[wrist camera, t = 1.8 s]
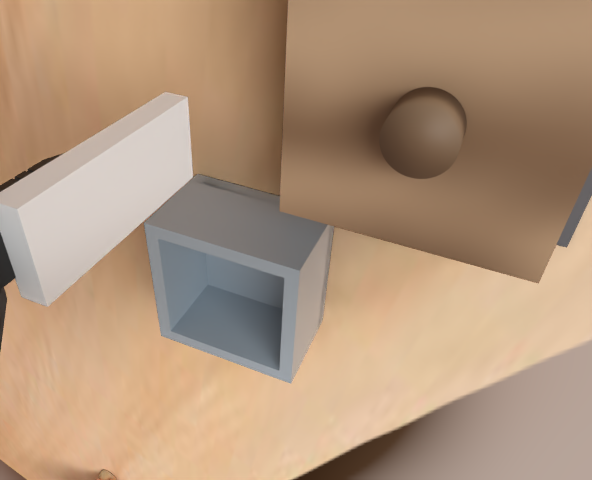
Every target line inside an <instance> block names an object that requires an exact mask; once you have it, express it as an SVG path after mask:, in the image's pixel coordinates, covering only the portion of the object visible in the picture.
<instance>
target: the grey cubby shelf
mask: <svg viewBox="0 0 592 480" xmlns="http://www.w3.org/2000/svg"><path fill="white" fill-rule="evenodd" d="M279 206H280V196H277V195H274V194H270V193H266V192H263V191H259V190H255V189H252V188H248V187H244V186H240V185H237V184H233V183H229V182H226V181H222V180H218V179H215V178H211V177H207V176H203V175H200V174H197V175H196V176H194V177H193V178H192V179H191V180H190V181H189V182H188V183H187V184H186V185H185V186H184V187H182V188H181V189H180V190H179V191H178V192H177V193H176V194H175V195H174V196H173V197H172V198H170V199H169V200H168V201H167V202H166V203H165V204H164V205H163V206H162V207H161V208H159V209H158V210H157V211H156V212H155V213H154V214H153V215H152V216H151V217H150V218H149V219H147V220H146V221H145V222H144V228H145V234H146V240H147V247H148V253H149V260H150V266H151V273H152V279H153V286H154V292H155V299H156V305H157V312H158V318H159V325H160V331H161V336H163V337H166V338H169V339H171V340H174V341H177V342H180V343H182V344H185V345H188V346H190V347H193V348H196V349H199V350H201V351H204V352H207V353H209V354H212V355H215V356H217V357H220V358H223V359H226V360H228V361H231V362H234V363H236V364H239V365H242V366H245V367H247V368H250V369H253V370H255V371H258V372H261V373H264V374H266V375H269V376H272V377H274V378H277V379H280V380H282V381H285V382H288V383H292V381H293V379H294V377H295V375H296V373H297V371H298V369H299V367H300V365H301V363H302V361H303V359H304V357H305V355H306V353H307V351H308V349H309V347H310V345H311V343H312V341H313V339H314V337H315V335H316V333H317V331H318V329H319V327H320V325H321V323H322V320H323V313H324V305H325V297H326V289H327V280H328V272H329V264H330V256H331V248H332V240H333V232H334V226H331V225H327V224H323V223H320V222H316V221H313V220H309V219H306V218H302V217H298V216H295V215H291V214H288V213H284V212H280V211H279Z"/></svg>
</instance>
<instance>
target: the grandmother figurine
mask: <svg viewBox="0 0 592 480" xmlns="http://www.w3.org/2000/svg"><path fill="white" fill-rule="evenodd" d="M96 480H117V479H116V477H115V476H114V475H112V474H111V473H110V472H108V471H107V470H102V471H101V473H100V474H99V479H96Z"/></svg>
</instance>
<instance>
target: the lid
mask: <svg viewBox="0 0 592 480" xmlns="http://www.w3.org/2000/svg"><path fill="white" fill-rule="evenodd" d="M591 168H592V0H288V15H287V39H286V63H285V87H284V111H283V135H282V158H281V182H280V206H279V211H280V212H284V213H288V214H291V215H295V216H298V217H302V218H306V219H309V220H313V221H316V222H320V223H323V224H327V225H331V226H334V227H338V228H341V229H345V230H349V231H352V232H356V233H359V234H363V235H367V236H370V237H374V238H377V239H381V240H385V241H388V242H392V243H395V244H399V245H402V246H406V247H410V248H413V249H417V250H420V251H424V252H428V253H431V254H435V255H438V256H442V257H446V258H449V259H453V260H456V261H460V262H463V263H467V264H471V265H474V266H478V267H481V268H485V269H489V270H492V271H496V272H499V273H503V274H507V275H510V276H514V277H517V278H521V279H524V280H528V281H532V282H535V283H539V281H540V279H541V277H542V275H543V273H544V270H545V268H546V266H547V264H548V262H549V259H550V257H551V255H552V253H553V251H554V249H555V246H556V244H557V242H558V240H559V238H560V236H561V233H562V231H563V229H564V227H565V225H566V223H567V220H568V218H569V216H570V214H571V212H572V209H573V207H574V205H575V203H576V201H577V199H578V196H579V194H580V192H581V190H582V188H583V186H584V183H585V181H586V179H587V177H588V175H589V173H590V170H591Z"/></svg>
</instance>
